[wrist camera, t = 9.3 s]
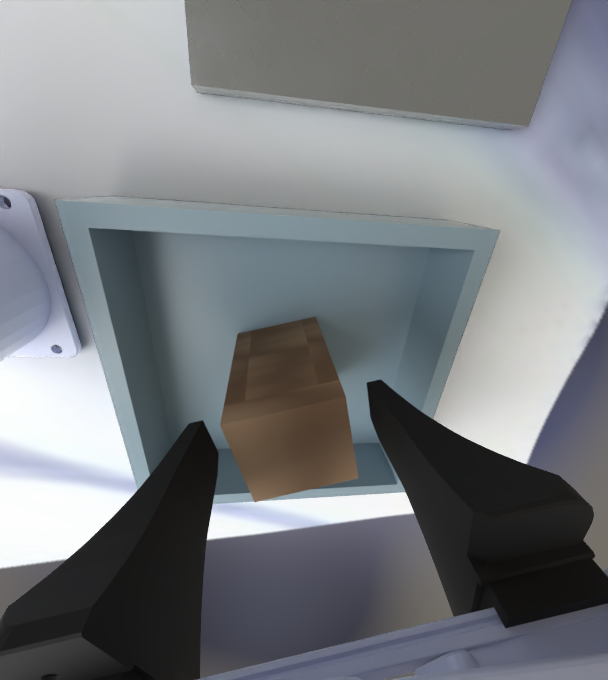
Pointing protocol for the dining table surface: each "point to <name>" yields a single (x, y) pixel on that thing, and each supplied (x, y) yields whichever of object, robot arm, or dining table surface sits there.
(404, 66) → the stud base
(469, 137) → the dining table surface
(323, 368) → the brown wooden block
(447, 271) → the bin
